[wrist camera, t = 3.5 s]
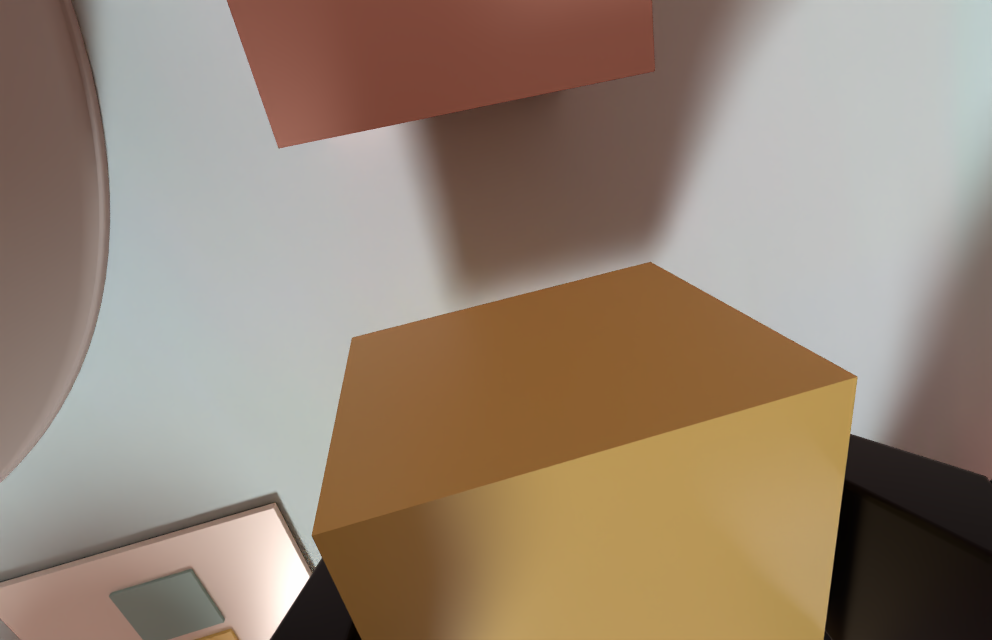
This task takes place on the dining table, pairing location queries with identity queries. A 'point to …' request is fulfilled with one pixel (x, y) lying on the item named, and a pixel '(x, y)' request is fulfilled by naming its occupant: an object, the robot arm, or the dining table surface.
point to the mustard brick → (586, 471)
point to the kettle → (47, 217)
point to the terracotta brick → (428, 56)
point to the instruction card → (168, 586)
